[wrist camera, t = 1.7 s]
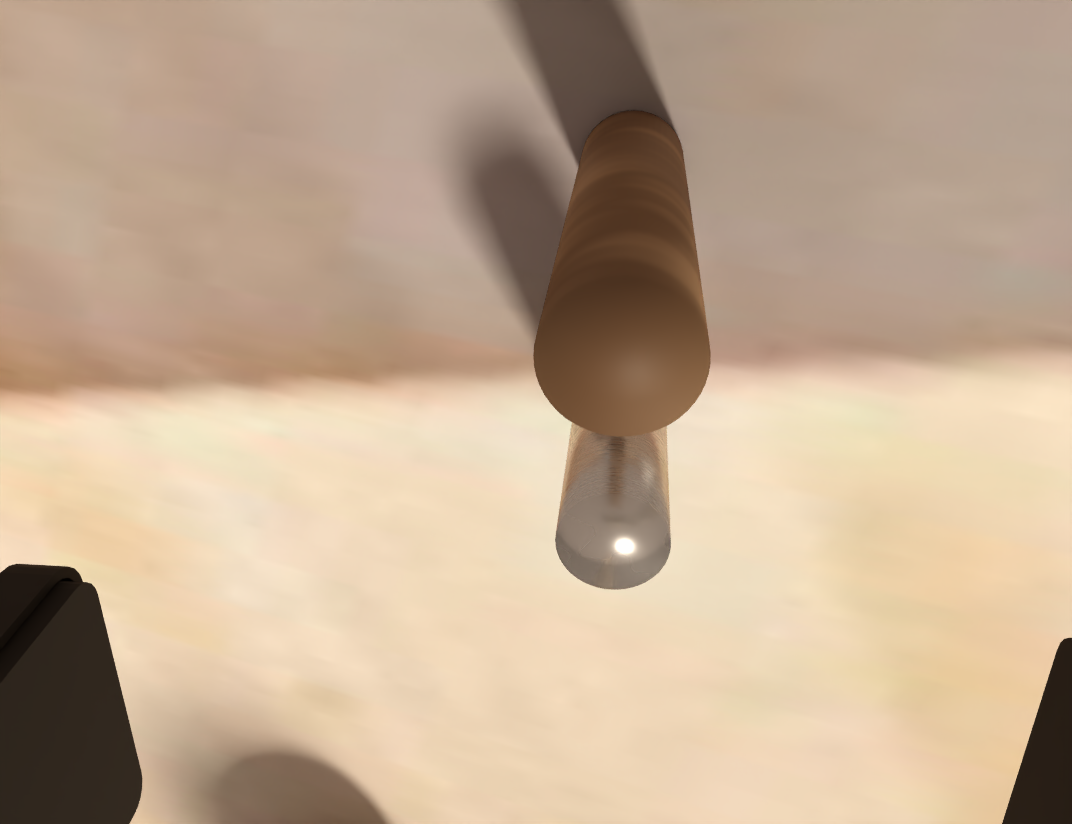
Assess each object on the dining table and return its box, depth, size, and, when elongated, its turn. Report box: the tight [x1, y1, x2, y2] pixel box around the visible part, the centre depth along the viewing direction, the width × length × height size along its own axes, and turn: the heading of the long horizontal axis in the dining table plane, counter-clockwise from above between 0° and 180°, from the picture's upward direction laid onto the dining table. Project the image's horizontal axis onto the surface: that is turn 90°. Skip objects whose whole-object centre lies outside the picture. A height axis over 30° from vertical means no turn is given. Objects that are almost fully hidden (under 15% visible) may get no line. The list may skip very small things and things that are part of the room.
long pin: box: [534, 110, 710, 437], centre depth 23 cm, size 3×3×14 cm
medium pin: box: [555, 422, 671, 589], centre depth 29 cm, size 3×3×8 cm
